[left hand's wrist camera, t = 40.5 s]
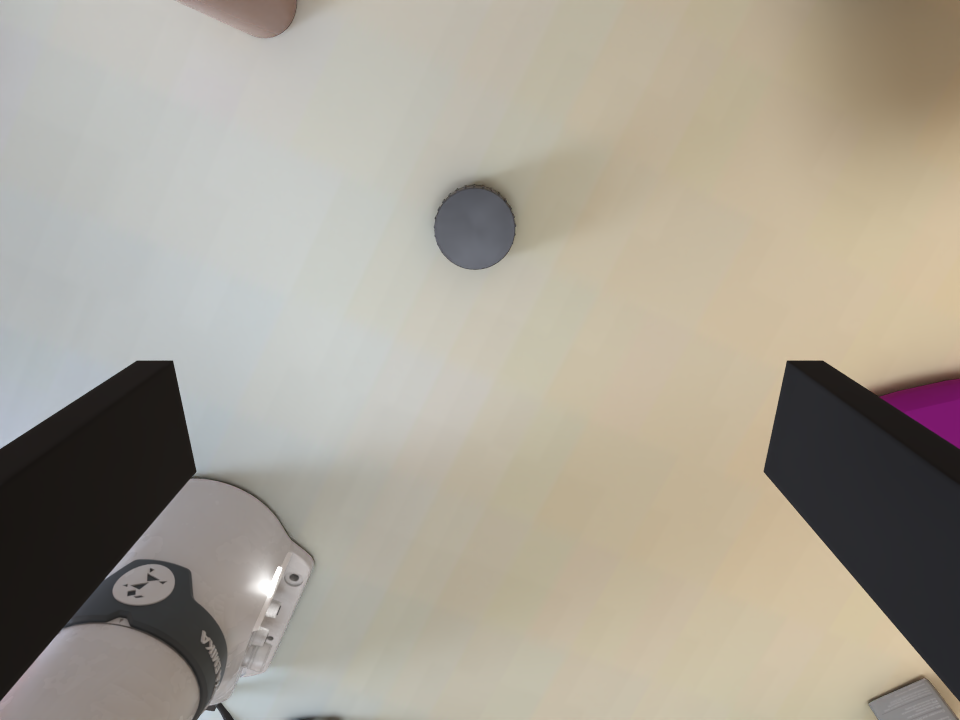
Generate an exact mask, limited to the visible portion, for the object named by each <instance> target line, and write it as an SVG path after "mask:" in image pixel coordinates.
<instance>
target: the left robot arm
mask: <svg viewBox="0 0 960 720" xmlns="http://www.w3.org/2000/svg"><path fill="white" fill-rule="evenodd" d="M195 473H196V467H195V463H194V458H193V453H192V449H191V444H190V439H189V434H188V430H187V425H186V420H185V415H184V411H183V406H182V401H181V396H180V392H179V387H178V382H177V378H176V373H175V368H174V363H173V361H136V362H134V363H133V364H131V365H130V366H128V367H127V368H125V369H123V370H122V371H120V372H119V373H117V374H116V375H114V376H113V377H111V378H110V379H108V380H106V381H105V382H103V383H102V384H100V385H99V386H97V387H96V388H94V389H93V390H91V391H89V392H88V393H86V394H85V395H83V396H82V397H80V398H79V399H77V400H75V401H74V402H72V403H71V404H69V405H68V406H66V407H65V408H63V409H62V410H60V411H58V412H57V413H55V414H54V415H52V416H51V417H49V418H48V419H46V420H45V421H43V422H41V423H40V424H38V425H37V426H35V427H34V428H32V429H31V430H29V431H27V432H26V433H24V434H23V435H21V436H20V437H18V438H17V439H15V440H14V441H12V442H10V443H9V444H7V445H6V446H4V447H3V448H1V449H0V701H1V700H2V699H3V698H4V697H5V695H6V694H7V693H8V692H9V691H10V690H11V688H12V687H13V686H14V685H15V684H16V683H17V681H18V680H19V679H20V678H21V677H22V675H23V674H24V673H25V672H26V671H27V670H28V668H29V667H30V666H31V665H32V664H33V663H34V661H35V660H36V659H37V658H38V657H39V656H40V654H41V653H42V652H43V651H44V650H45V649H46V647H47V646H48V645H49V644H50V643H51V642H52V640H53V639H54V638H55V637H56V636H57V634H58V633H59V632H60V631H61V630H62V629H63V627H64V626H65V625H66V624H67V623H68V622H69V620H70V619H71V618H72V617H73V616H74V615H75V613H76V612H77V611H78V610H79V609H80V608H81V606H82V605H83V604H84V603H85V602H86V600H87V599H88V598H89V597H90V596H91V595H92V593H93V592H94V591H95V590H96V589H97V588H98V586H99V585H100V584H101V583H102V582H103V581H104V579H105V578H106V577H107V576H108V575H109V574H110V572H111V571H112V570H113V569H114V568H115V566H116V565H117V564H118V563H119V562H120V561H121V559H122V558H123V557H124V556H125V555H126V554H127V552H128V551H129V550H130V549H131V548H132V547H133V545H134V544H135V543H136V542H137V541H138V540H139V538H140V537H141V536H142V535H143V534H144V532H145V531H146V530H147V529H148V528H149V527H150V525H151V524H152V523H153V522H154V521H155V520H156V518H157V517H158V516H159V515H160V514H161V513H162V511H163V510H164V509H165V508H166V507H167V506H168V504H169V503H170V502H171V501H172V500H173V498H174V497H175V496H176V495H177V494H178V493H179V491H180V490H181V489H182V488H183V487H184V486H185V484H186V483H187V482H188V481H189V480H190V479H191V477H192V476H193V475H194V474H195ZM764 473H765V474H766V475H767V476H768V477H769V479H770V480H771V481H772V482H773V483H774V484H775V486H776V487H777V488H778V489H779V490H780V491H781V493H782V494H783V495H784V496H785V497H786V498H787V500H788V501H789V502H790V503H791V504H792V506H793V507H794V508H795V509H796V510H797V511H798V513H799V514H800V515H801V516H802V517H803V518H804V520H805V521H806V522H807V523H808V524H809V525H810V527H811V528H812V529H813V530H814V531H815V532H816V534H817V535H818V536H819V537H820V538H821V540H822V541H823V542H824V543H825V544H826V545H827V547H828V548H829V549H830V550H831V551H832V552H833V554H834V555H835V556H836V557H837V558H838V559H839V561H840V562H841V563H842V564H843V565H844V566H845V568H846V569H847V570H848V571H849V572H850V574H851V575H852V576H853V577H854V578H855V579H856V581H857V582H858V583H859V584H860V585H861V586H862V588H863V589H864V590H865V591H866V592H867V593H868V595H869V596H870V597H871V598H872V599H873V600H874V602H875V603H876V604H877V605H878V606H879V608H880V609H881V610H882V611H883V612H884V613H885V615H886V616H887V617H888V618H889V619H890V620H891V622H892V623H893V624H894V625H895V626H896V627H897V629H898V630H899V631H900V632H901V633H902V634H903V636H904V637H905V638H906V639H907V640H908V642H909V643H910V644H911V645H912V646H913V647H914V649H915V650H916V651H917V652H918V653H919V654H920V656H921V657H922V658H923V659H924V660H925V661H926V663H927V664H928V665H929V666H930V667H931V668H932V670H933V671H934V672H935V673H936V674H937V676H938V677H939V678H940V679H941V680H942V681H943V683H944V684H945V685H946V686H947V687H948V688H949V690H950V691H951V692H952V693H953V694H954V695H955V697H956V698H957V699H958V700H959V701H960V449H959V448H957V447H956V446H954V445H953V444H951V443H950V442H948V441H946V440H945V439H943V438H942V437H940V436H939V435H937V434H936V433H934V432H933V431H931V430H929V429H928V428H926V427H925V426H923V425H922V424H920V423H919V422H917V421H915V420H914V419H912V418H911V417H909V416H908V415H906V414H905V413H903V412H902V411H900V410H898V409H897V408H895V407H894V406H892V405H891V404H889V403H888V402H886V401H885V400H883V399H881V398H880V397H878V396H877V395H875V394H874V393H872V392H871V391H869V390H867V389H866V388H864V387H863V386H861V385H860V384H858V383H857V382H855V381H854V380H852V379H850V378H849V377H847V376H846V375H844V374H843V373H841V372H840V371H838V370H837V369H835V368H833V367H832V366H830V365H829V364H827V363H826V362H824V361H787V363H786V368H785V373H784V378H783V382H782V387H781V392H780V396H779V401H778V406H777V411H776V415H775V420H774V425H773V430H772V434H771V439H770V444H769V449H768V453H767V458H766V463H765V467H764Z"/></svg>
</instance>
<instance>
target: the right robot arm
mask: <svg viewBox="0 0 960 720" xmlns="http://www.w3.org/2000/svg"><path fill="white" fill-rule="evenodd" d="M313 568H314V561H313V559H312V557H311V556H310V555H309V554H308V553H307V552H306V551H305V550H303V549H302V548H301V547H300V546H298V545H297V544H296V543H294V542H293V541H292V540H291V539H290V538H289V536H288V535H287V533H286V532H285V530H284V528H283V527H282V525H281V523H280V522H279V520H278V519H277V517H276V516H275V515H274V514H273V513H272V512H271V510H270V509H269V508H267V507H266V506H265V505H264V504H263V503H262V502H261V501H259V500H258V499H257V498H255V497H254V496H252V495H251V494H249V493H247V492H245V491H243V490H241V489H239V488H237V487H235V486H232V485H229V484H226V483H223V482H219V481H214V480H208V479H190V480H189V481H188V482H187V483H186V484H185V486H184V487H183V488H182V489H181V490H180V491H179V493H178V494H177V495H176V496H175V497H174V498H173V500H172V501H171V502H170V503H169V504H168V506H167V507H166V508H165V509H164V510H163V511H162V513H161V514H160V515H159V516H158V517H157V518H156V520H155V521H154V522H153V523H152V524H151V525H150V527H149V528H148V529H147V530H146V531H145V532H144V534H143V535H142V536H141V537H140V538H139V540H138V541H137V542H136V543H135V544H134V545H133V547H132V548H131V549H130V550H129V551H128V552H127V554H126V555H125V556H124V557H123V558H122V559H121V561H120V562H119V563H118V564H117V565H116V566H115V568H114V569H113V570H112V571H111V572H110V574H109V575H108V576H107V577H106V578H105V579H104V581H103V582H102V583H101V584H100V585H99V586H98V588H97V589H96V590H95V591H94V592H93V593H92V595H91V596H90V597H89V598H88V599H87V600H86V602H85V603H84V604H83V605H82V606H81V608H80V609H79V610H78V611H77V612H76V613H75V615H74V616H73V617H72V618H71V619H70V620H69V622H68V623H67V624H66V625H65V626H64V627H63V629H62V630H61V631H60V632H59V633H58V634H57V636H56V637H55V638H54V639H53V640H52V642H51V643H50V644H49V645H48V646H47V647H46V649H45V650H44V651H43V652H42V653H41V654H40V656H39V657H38V658H37V659H36V660H35V661H34V663H33V664H32V665H31V666H30V667H29V668H28V670H27V671H26V672H25V673H24V674H23V675H22V677H21V678H20V679H19V680H18V681H17V683H16V684H15V685H14V686H13V687H12V688H11V690H10V691H9V692H8V693H7V694H6V695H5V697H4V698H3V699H2V700H1V701H0V720H197V719H198V718H199V716H200V715H201V714H202V713H203V712H204V711H205V710H209V711H215V709H216V707H217V708H218V710H219V711H220V713H221V715H222V717H223V719H224V720H234V719H233V718H232V716H231V715H230V713H229V712H228V711H227V710H226V709H225V707H224V706H223V705H222V703H221V702H223V701H225V700H227V699H228V698H229V697H230V696H231V695H232V693H233V691H234V688H235V686H236V684H237V682H238V680H239V677H246V676H253V675H257V674H260V673H263V672H265V671H266V670H267V669H268V667H269V665H270V663H271V661H272V659H273V657H274V655H275V653H276V651H277V648H278V646H279V644H280V642H281V639H282V637H283V635H284V633H285V630H286V628H287V626H288V624H289V621H290V619H291V617H292V615H293V613H294V610H295V608H296V606H297V604H298V601H299V599H300V597H301V595H302V592H303V590H304V588H305V586H306V584H307V581H308V579H309V577H310V575H311V572H312V570H313ZM294 574H296V575H298V576H296V575H294Z"/></svg>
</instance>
